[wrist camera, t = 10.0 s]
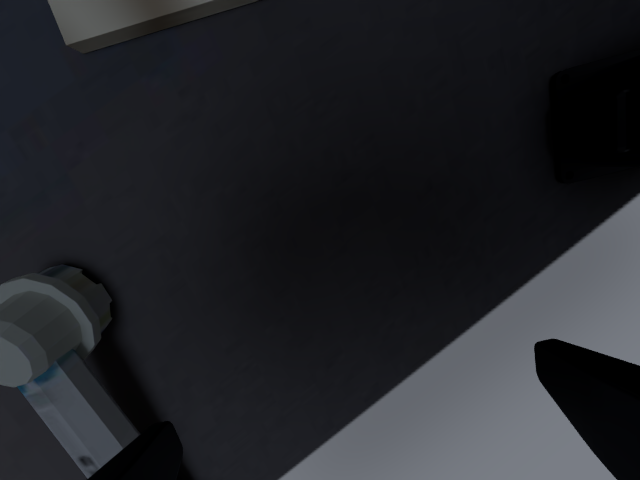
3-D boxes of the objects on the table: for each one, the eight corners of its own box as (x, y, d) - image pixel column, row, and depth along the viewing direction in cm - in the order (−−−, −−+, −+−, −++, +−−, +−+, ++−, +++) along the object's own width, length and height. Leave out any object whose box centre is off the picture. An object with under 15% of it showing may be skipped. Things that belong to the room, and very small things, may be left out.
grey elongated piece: (145, 590, 22) (-122, 340, 13) (180, 489, 29) (14, 271, 20) (209, 577, 22) (-20, 311, 13) (231, 478, 28) (86, 250, 19)
